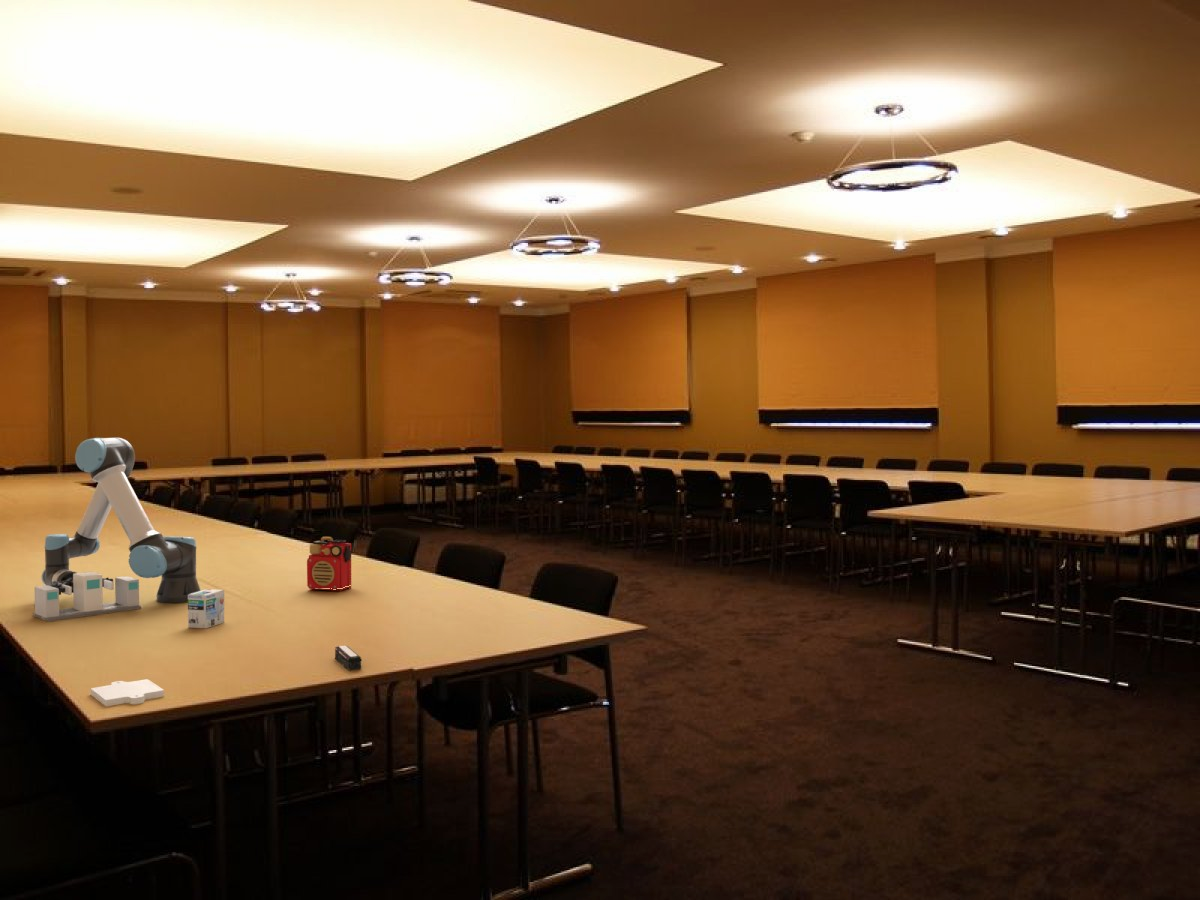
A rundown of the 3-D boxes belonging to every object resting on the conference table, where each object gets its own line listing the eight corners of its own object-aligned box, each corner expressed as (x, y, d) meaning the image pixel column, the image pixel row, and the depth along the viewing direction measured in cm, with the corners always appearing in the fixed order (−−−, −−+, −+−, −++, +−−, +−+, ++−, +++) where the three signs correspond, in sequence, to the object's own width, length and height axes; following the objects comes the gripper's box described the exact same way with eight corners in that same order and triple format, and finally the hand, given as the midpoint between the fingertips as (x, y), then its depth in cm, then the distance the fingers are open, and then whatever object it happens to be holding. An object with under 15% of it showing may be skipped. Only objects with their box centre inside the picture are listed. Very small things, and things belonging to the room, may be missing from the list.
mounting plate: (167, 700, 237) (167, 692, 237) (108, 710, 228) (108, 702, 228) (144, 684, 251) (144, 676, 250) (87, 693, 242) (87, 686, 242)
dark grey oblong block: (333, 677, 259) (333, 661, 259) (312, 657, 281) (312, 642, 281) (388, 671, 266) (388, 655, 266) (363, 651, 288) (363, 637, 288)
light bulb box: (206, 629, 314) (205, 595, 314) (187, 628, 315) (186, 594, 315) (225, 622, 324) (225, 589, 324) (206, 621, 326) (206, 588, 325)
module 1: (47, 611, 335) (47, 585, 334) (59, 616, 328) (59, 588, 327) (34, 613, 332) (34, 586, 331) (46, 617, 325) (45, 590, 324)
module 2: (127, 601, 354) (126, 576, 354) (139, 605, 347) (139, 579, 347) (115, 602, 351) (115, 577, 351) (127, 606, 344) (127, 580, 344)
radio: (304, 590, 383) (304, 538, 382) (318, 586, 393) (317, 535, 392) (342, 592, 379) (341, 540, 379) (354, 588, 389) (354, 537, 388)
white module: (92, 606, 345) (91, 571, 344) (103, 609, 338) (102, 574, 338) (73, 608, 340) (73, 573, 340) (84, 612, 334) (83, 576, 334)
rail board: (125, 603, 355) (125, 600, 355) (141, 608, 346) (141, 605, 346) (33, 615, 333) (33, 612, 333) (47, 621, 324) (47, 618, 324)
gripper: (104, 587, 361) (129, 594, 346) (29, 596, 342) (52, 604, 328) (104, 566, 360) (129, 573, 346) (28, 574, 342) (51, 581, 328)
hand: (91, 588), depth 337 cm, fingers open, 13 cm apart
